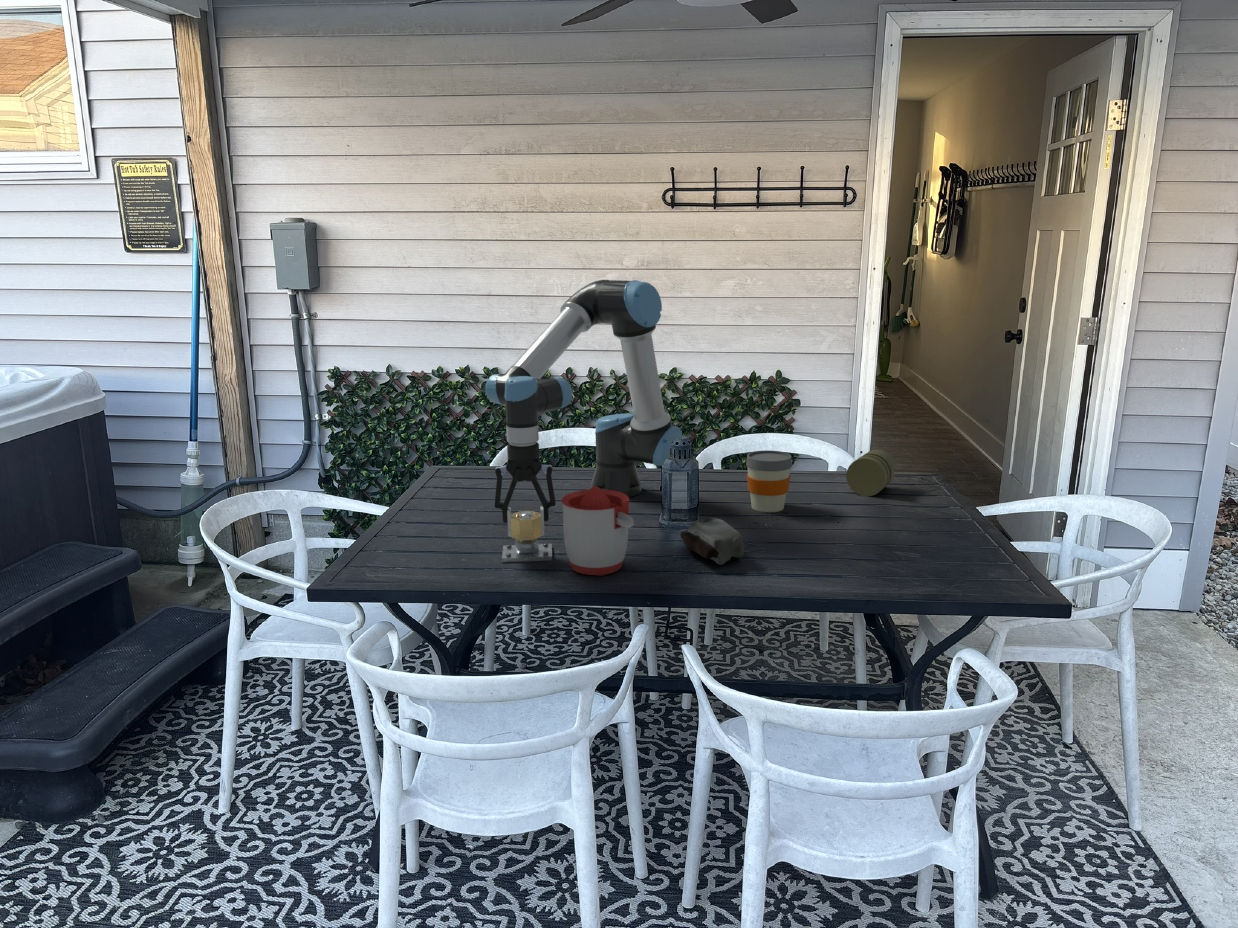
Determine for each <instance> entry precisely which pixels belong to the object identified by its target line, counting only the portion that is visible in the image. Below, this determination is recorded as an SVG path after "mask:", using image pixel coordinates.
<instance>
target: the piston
mask: <svg viewBox="0 0 1238 928" xmlns="http://www.w3.org/2000/svg"><path fill="white" fill-rule="evenodd" d="M895 462H896V460H895V459H894V457H893V456H892V455H891V454H890V453H889V452H887V451H885V450H882V449H873V450H869V451H867V452H866V453H864V454H863V455H861V456H860V457H858V458H857V459H855V460H853V462H851V463H850V465H848V467H847V470H846V475H845V476H846V477H845V478H846V482H847V485H848V487H850V489H851V490H852V491H853V492H854V493H855V494H857V495H859V496H862V497H873V496H875V495H877V494H879V493H880V492H881V491H882V490H883V489H884V488H886V487H887V486H888V485H890V484H891V483H892V482H893V481H894V477H895Z"/></svg>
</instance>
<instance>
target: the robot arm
mask: <svg viewBox="0 0 1238 928" xmlns="http://www.w3.org/2000/svg"><path fill="white" fill-rule="evenodd" d="M662 304H663V303H662V300H661V296H660V293H659V291H658V290H657V288H656V287H655V286H654V285H652V284H651V283H650V282H648V281H647V282H646V281H641V280H637V279H635V280H634V279H632V280H619V279H618V280H616V279H614V280H613V279H611V280H610V279H599V280H596V281H593V282H590V283H588V284H586V285H585V286H582V288H580V289H578V290H577V291H576V292H574V294H572V295H571V296H570V297H569V298H568V299H566V301H564V303H563V304H562V305H561V307H560V310H559V312H560V313H559V314H558V315H557V316H556V317H555V318H553V320H552V321H551V323H549V325H548V326H547V327H546V328H545V329H544V330H543V331H542V333H540V334H539V336H538V337H537V338H536V339H535V340H534V341H533V342H532V344H531V345H529V346H528V348H526V350H525V351H524V352H523V353H522V354H521V355H520V356H519V357H518V358H517V360H516V361H515V362H514V363H513V364H512V365H511V366H510V367H509V368H508V369H507V370H506V371H505V373H495V374H493V375H490V376H489V378H488V379H487V381H486V383H485V395H486V396H487V398H488V400H489V401H490V402H492V403H494V404H498V405H501V406H505V418H506V419H505V422H506V425H505V429H506V441H507V442H508V444H507V445H506V452H507V453H506V455H507V462H506V464H505V465H503V466H500V465H496V466H495V471H494V472H495V476H496V485H495V486H496V487H495V497H494V508H495V509H499V510H501V513H502V522H503V523H504V524H506V523H507V537H508V538H509V537H511V514H512V508H511V507H509V504H510V502H511V499H512V496H513V494H514V491H515V488H516V486H517V483H520V482H523V481H525V482H531V484H532V485H533V488H534V490H535V492H536V495H537V497H538V499H539V501H540V503H541V505H542V506H539V507H540V509H539V513H541V536H545V522H548V521H549V520H550V519H549V509H550V508H552V507H555V506H556V504H557V503H556V497H555V490H554V484H553V478H552V473H553V466H552V464H551V463H549V464H543V463H542V461H540V460H541V459H540V444H539V442H538V441H539V440H540V439H539V436H540V435H539V415H541V414H544V413H549V412H552V411H558V410H560V409H563V408H566V407H567V406H568V405H569V404H570V403H571V401H572V399H573V390H572V386H571V384H570V383H569V382H568V380H566V379H565V378H562V377H552V378H548V379H544V378H543V379H542V377H544V376H545V374H546V373H547V372H548V371H549V369H550V368H551V367H552V366H553V365H554V364H555V363H556V362H557V361H558V359H560V357H561V356H562V355H563V353H565V352H566V351H567V349H568V348H569V347H570V346H571V345H572V344H573V342H575V340H576V339H577V338H578V337H579V336H580V335H581V334H582V333H587V332H588V331H589V330H590V329H591V328H592V327H593V326H595V325H599V324H607V325H611V328H612V332H613V333H612V334H613V336H614V337H616V338H617V339H618V340H620V345H621V350H622V356H623V362H624V369H625V373H626V379H627V383H628V390H629V396H630V400H631V406H632V411H633V412H632V413H616V414H610V415H605V416H602V417H599V418H598V419H597V420H596V421H595V422H596V423H595V431H594V434H595V455H596V456H595V460H596V463H595V464H596V465H595V470H594V474H593V476H592V479H591V483H590V489H591V488H592V487H593V486H597V487H598V488H599V489H602V490H612V491H618V492H621V493H624V494H626V495H627V496H628V498H631V497H633V496H637V495H639V494H640V493H642V482H641V478H640V475H639V473H638V470H637V467H636V462H637V463H642V464H643V463H644V464H649V465H653V466H663V465H664V462H665V460H666V459H668V457H669V454H670V447H671V443H672V442H673V441H674V440H675V439H678V438H682V439H683V432H682V430H681V429H680V428H679V427H678V426H676V425H672V424H673V423H672V418H671V415H670V414H669V413H668V412H667V411H665V408H664V402H663V401H664V400H663V395H662V391H661V384H660V377H659V371H658V367H657V366H658V365H657V360H656V354H655V347H654V341H653V336H652V335H653V333H654V331H655V330H656V328H657V324H658V323H659V321H660V319H661V316H662V314H661V312H662V311H663V307H662V306H663V305H662ZM541 470H542V472H543V474H544V475H545V478H546V479H545V480H546V484H547V490H548V491H547V492H548V497H549V500H547V498H546V495H545V493H544V490H543V488H542V487H541V484H540V483H539V479H538V477H537V475H538V474H539V472H540V471H541ZM506 471H507V472H508V473H509V475H510V476H511V480H510V483H509V486H508V488H507V492H506V495H505V497H504V499H503V500H504V501H503V502H502V501H501V496H502V485H503V476H505V474H506Z"/></svg>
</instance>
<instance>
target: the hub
mask: <svg viewBox="0 0 1238 928" xmlns="http://www.w3.org/2000/svg"><path fill="white" fill-rule="evenodd" d="M522 512H531V513H532V515H533V517H532V518H526V519H521V518H519V514H520V513H522ZM536 538H538V539H539V538H542V535H541V513H540V512H537V511H534V510H522V511H521V510H520V511H517V512H513V513H511V539H514V540H515V539H517V540H533V539H536Z"/></svg>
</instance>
